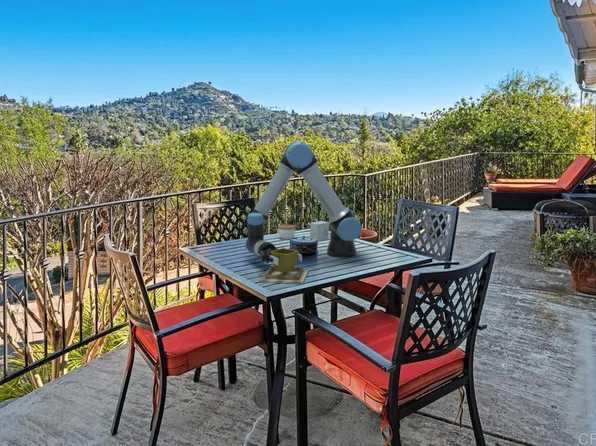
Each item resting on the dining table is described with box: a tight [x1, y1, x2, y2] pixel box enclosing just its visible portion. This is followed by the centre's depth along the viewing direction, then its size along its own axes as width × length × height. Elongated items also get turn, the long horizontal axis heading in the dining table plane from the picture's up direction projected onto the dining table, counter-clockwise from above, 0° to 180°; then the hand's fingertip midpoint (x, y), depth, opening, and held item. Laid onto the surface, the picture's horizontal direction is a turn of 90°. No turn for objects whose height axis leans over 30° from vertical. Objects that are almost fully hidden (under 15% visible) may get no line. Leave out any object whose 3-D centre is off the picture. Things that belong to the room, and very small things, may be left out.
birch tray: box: [259, 266, 309, 285], centre depth 192 cm, size 18×18×2 cm
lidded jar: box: [277, 222, 296, 241], centre depth 272 cm, size 11×11×9 cm
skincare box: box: [309, 220, 330, 242], centre depth 269 cm, size 10×6×10 cm, turn 137°
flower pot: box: [271, 247, 299, 273], centre depth 191 cm, size 9×9×9 cm
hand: (289, 260), depth 188 cm, fingers closed on flower pot, 11 cm apart
